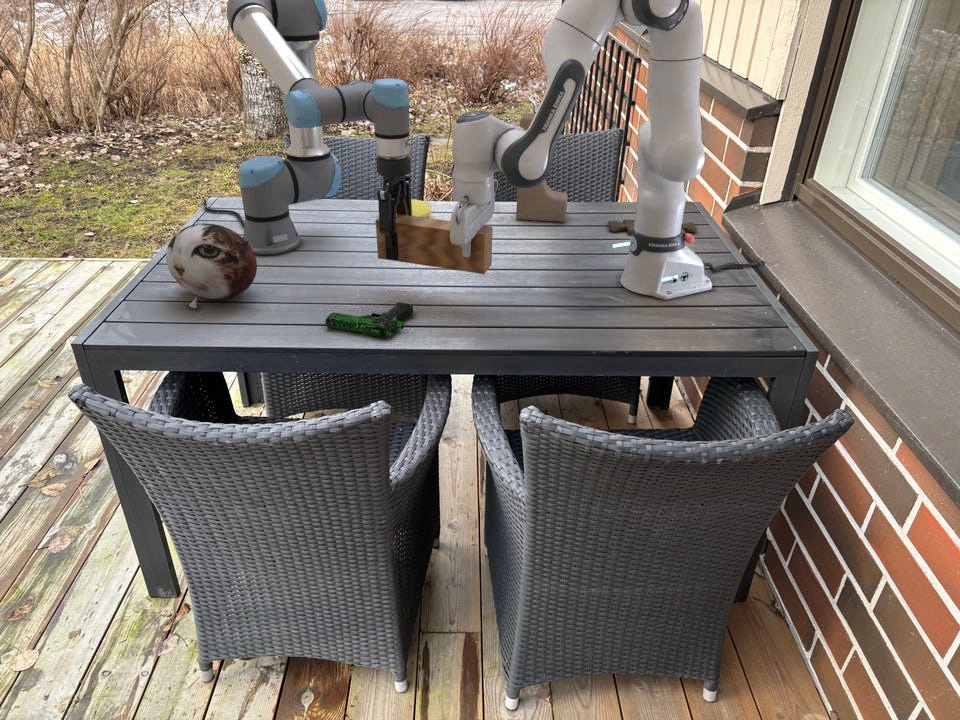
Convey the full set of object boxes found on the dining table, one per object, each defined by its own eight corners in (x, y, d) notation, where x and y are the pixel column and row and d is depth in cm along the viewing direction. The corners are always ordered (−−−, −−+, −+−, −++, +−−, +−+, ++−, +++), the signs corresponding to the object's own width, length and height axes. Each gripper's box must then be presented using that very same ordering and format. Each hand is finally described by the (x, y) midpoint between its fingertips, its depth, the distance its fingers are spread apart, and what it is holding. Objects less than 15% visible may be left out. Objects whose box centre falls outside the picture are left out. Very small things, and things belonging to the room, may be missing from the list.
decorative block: (565, 222, 215) (573, 120, 200) (515, 219, 217) (520, 117, 202) (566, 214, 222) (574, 114, 206) (518, 211, 223) (522, 112, 208)
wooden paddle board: (699, 237, 207) (691, 225, 216) (700, 231, 206) (692, 220, 215) (610, 234, 207) (606, 222, 216) (611, 228, 207) (607, 217, 215)
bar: (377, 258, 167) (375, 220, 162) (387, 249, 172) (385, 212, 167) (484, 274, 160) (484, 234, 156) (491, 265, 165) (492, 226, 160)
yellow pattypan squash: (403, 206, 226) (402, 184, 222) (442, 217, 218) (442, 194, 215) (368, 220, 215) (367, 197, 211) (408, 231, 207) (407, 208, 203)
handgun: (421, 304, 161) (388, 331, 148) (421, 316, 162) (389, 343, 150) (358, 292, 166) (322, 317, 154) (359, 304, 167) (323, 330, 155)
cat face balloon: (130, 285, 161) (164, 203, 163) (192, 308, 177) (221, 233, 178) (195, 307, 151) (229, 220, 152) (254, 330, 166) (285, 250, 168)
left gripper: (391, 168, 148) (396, 271, 160) (425, 146, 163) (427, 242, 175) (358, 164, 150) (365, 266, 162) (394, 143, 165) (399, 238, 177)
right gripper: (471, 206, 145) (470, 269, 152) (500, 178, 162) (498, 236, 169) (442, 203, 147) (442, 265, 154) (473, 176, 164) (473, 233, 171)
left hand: (397, 253), depth 168 cm, fingers closed on bar, 6 cm apart
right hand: (472, 250), depth 162 cm, fingers closed on bar, 5 cm apart
